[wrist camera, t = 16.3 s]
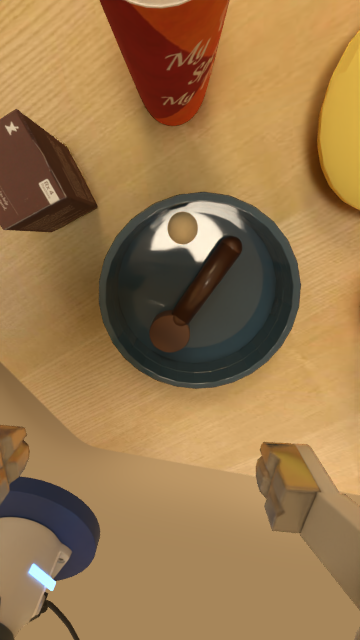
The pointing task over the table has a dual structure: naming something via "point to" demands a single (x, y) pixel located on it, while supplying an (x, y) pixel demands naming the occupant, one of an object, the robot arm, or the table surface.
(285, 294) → the bowl
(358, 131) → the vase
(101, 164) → the table surface
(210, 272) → the disc-headed brown rod
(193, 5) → the coffee cup
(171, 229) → the ball
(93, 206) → the box
